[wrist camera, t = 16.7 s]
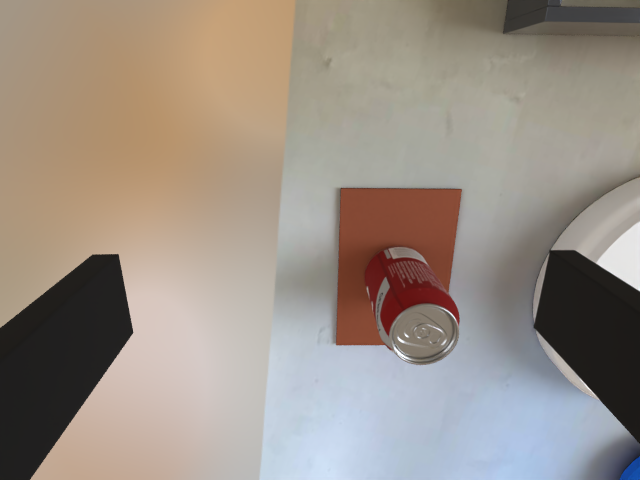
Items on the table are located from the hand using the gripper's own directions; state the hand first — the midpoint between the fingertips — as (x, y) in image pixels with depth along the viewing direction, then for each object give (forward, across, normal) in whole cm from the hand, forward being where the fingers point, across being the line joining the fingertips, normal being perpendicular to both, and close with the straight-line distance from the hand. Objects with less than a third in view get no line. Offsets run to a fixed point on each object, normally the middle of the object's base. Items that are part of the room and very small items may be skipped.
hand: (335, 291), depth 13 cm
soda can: (+28, +8, -13) cm, 32 cm away
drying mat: (+29, +8, -13) cm, 32 cm away
